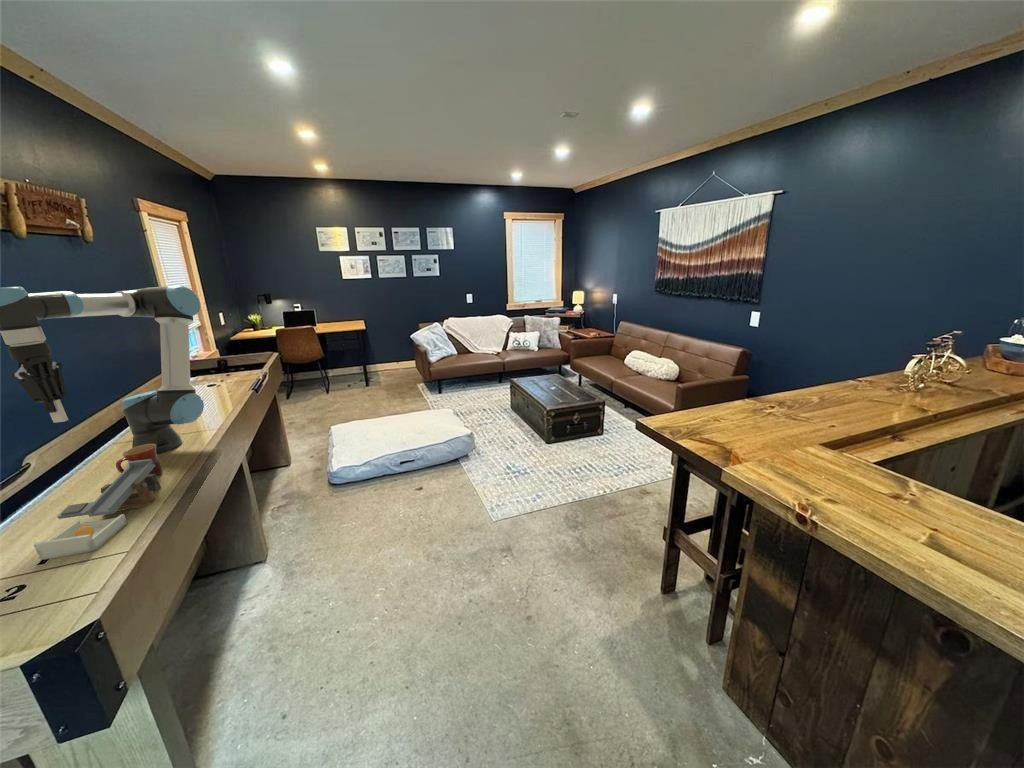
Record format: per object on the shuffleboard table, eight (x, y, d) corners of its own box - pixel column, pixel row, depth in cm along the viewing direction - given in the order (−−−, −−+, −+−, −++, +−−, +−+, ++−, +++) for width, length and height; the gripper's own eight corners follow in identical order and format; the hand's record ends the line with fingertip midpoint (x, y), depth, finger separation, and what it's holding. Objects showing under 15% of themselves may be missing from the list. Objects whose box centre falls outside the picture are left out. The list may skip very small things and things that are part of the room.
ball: (79, 524, 105) (68, 533, 102) (93, 521, 105) (83, 531, 102) (85, 534, 106) (75, 543, 103) (99, 531, 107) (90, 541, 104)
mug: (152, 469, 143) (143, 443, 140) (172, 470, 141) (162, 443, 138) (115, 487, 132) (103, 459, 129) (135, 488, 130) (124, 460, 127)
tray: (80, 530, 109) (73, 516, 108) (127, 523, 111) (122, 509, 110) (41, 559, 98) (33, 544, 97) (94, 551, 100) (87, 536, 99)
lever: (105, 472, 125) (100, 465, 124) (155, 465, 128) (151, 458, 126) (56, 521, 108) (49, 514, 107) (114, 513, 111) (108, 505, 109)
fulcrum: (132, 491, 128) (124, 471, 126) (171, 486, 130) (164, 465, 128) (104, 512, 117) (95, 490, 115) (148, 506, 119) (139, 484, 117)
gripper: (33, 340, 117) (65, 415, 124) (-14, 349, 105) (25, 431, 112) (63, 338, 118) (93, 412, 125) (19, 346, 106) (56, 427, 113)
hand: (61, 421), depth 118 cm, fingers closed
